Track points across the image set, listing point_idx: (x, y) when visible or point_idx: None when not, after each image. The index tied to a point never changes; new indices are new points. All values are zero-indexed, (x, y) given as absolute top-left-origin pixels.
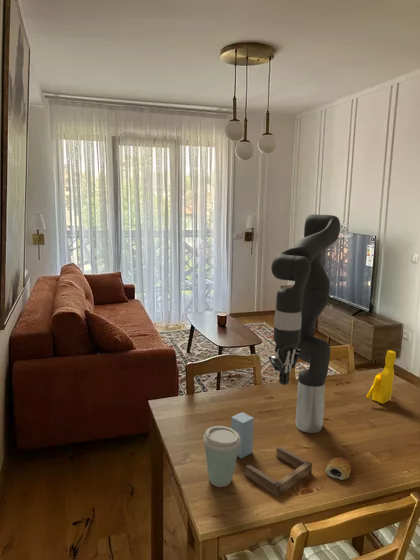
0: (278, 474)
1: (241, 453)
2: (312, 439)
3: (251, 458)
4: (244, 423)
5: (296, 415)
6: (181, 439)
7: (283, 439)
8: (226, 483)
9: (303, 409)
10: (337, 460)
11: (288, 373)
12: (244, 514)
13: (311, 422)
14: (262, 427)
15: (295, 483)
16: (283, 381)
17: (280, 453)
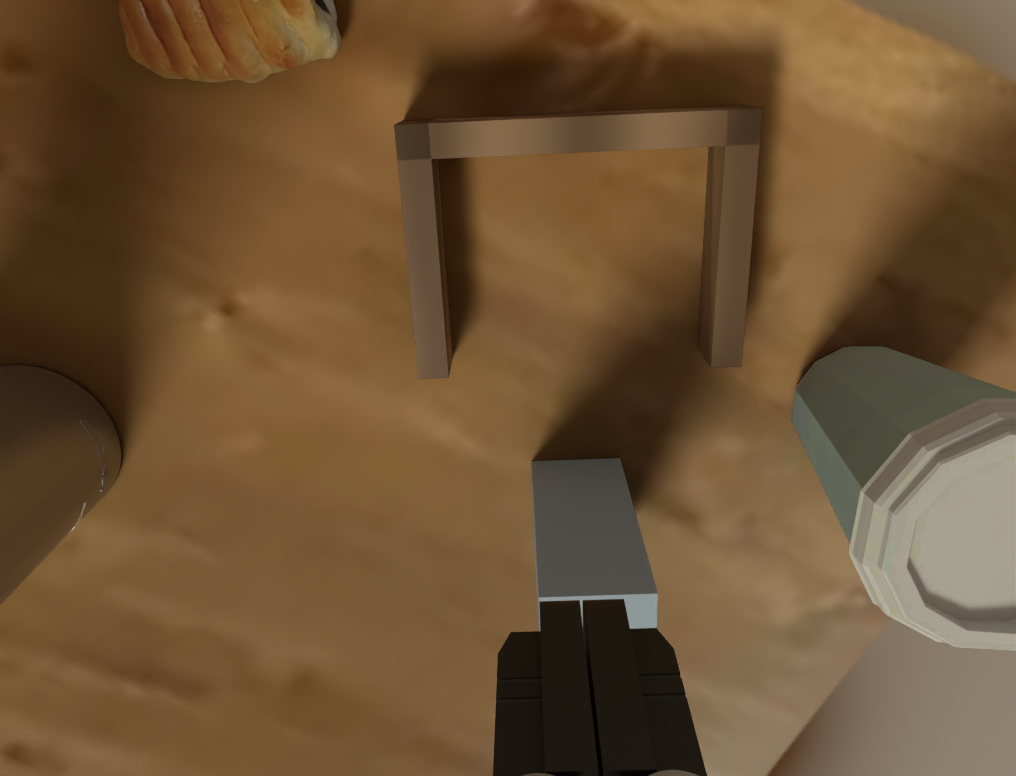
0: (576, 237)
1: (624, 475)
2: (123, 338)
3: (577, 428)
4: (640, 588)
5: (74, 526)
6: (724, 729)
7: (283, 442)
8: (883, 347)
9: (31, 510)
10: (222, 18)
11: (568, 748)
12: (992, 125)
13: (39, 417)
14: (297, 586)
15: (571, 113)
16: (664, 654)
17: (448, 340)
